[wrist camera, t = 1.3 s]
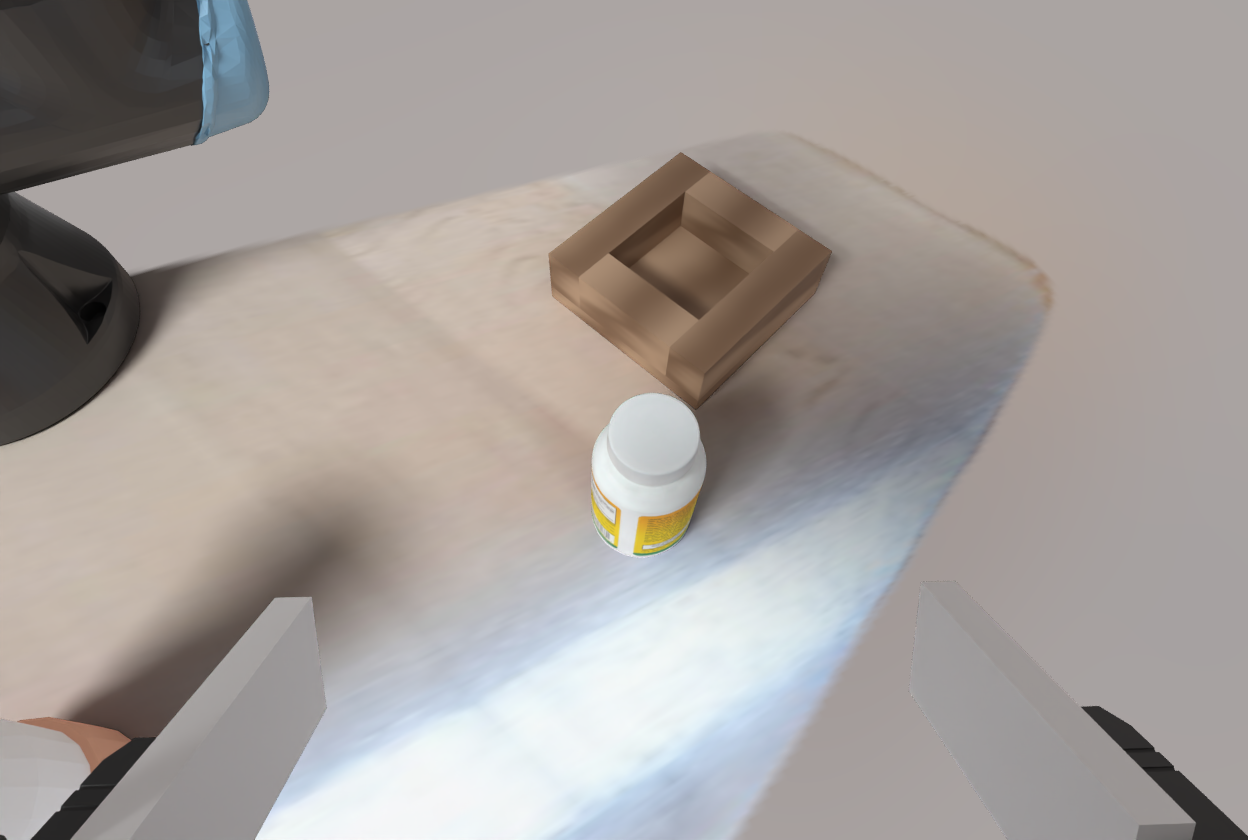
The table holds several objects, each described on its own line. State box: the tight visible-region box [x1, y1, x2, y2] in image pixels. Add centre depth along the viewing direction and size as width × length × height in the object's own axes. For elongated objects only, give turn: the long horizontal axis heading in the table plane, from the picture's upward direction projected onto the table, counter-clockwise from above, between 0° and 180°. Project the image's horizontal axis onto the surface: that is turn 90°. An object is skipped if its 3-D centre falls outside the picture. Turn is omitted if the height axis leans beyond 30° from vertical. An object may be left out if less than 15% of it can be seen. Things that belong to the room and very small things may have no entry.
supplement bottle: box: [591, 393, 706, 558], centre depth 35 cm, size 5×5×10 cm
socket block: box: [549, 152, 832, 409], centre depth 45 cm, size 12×12×4 cm
